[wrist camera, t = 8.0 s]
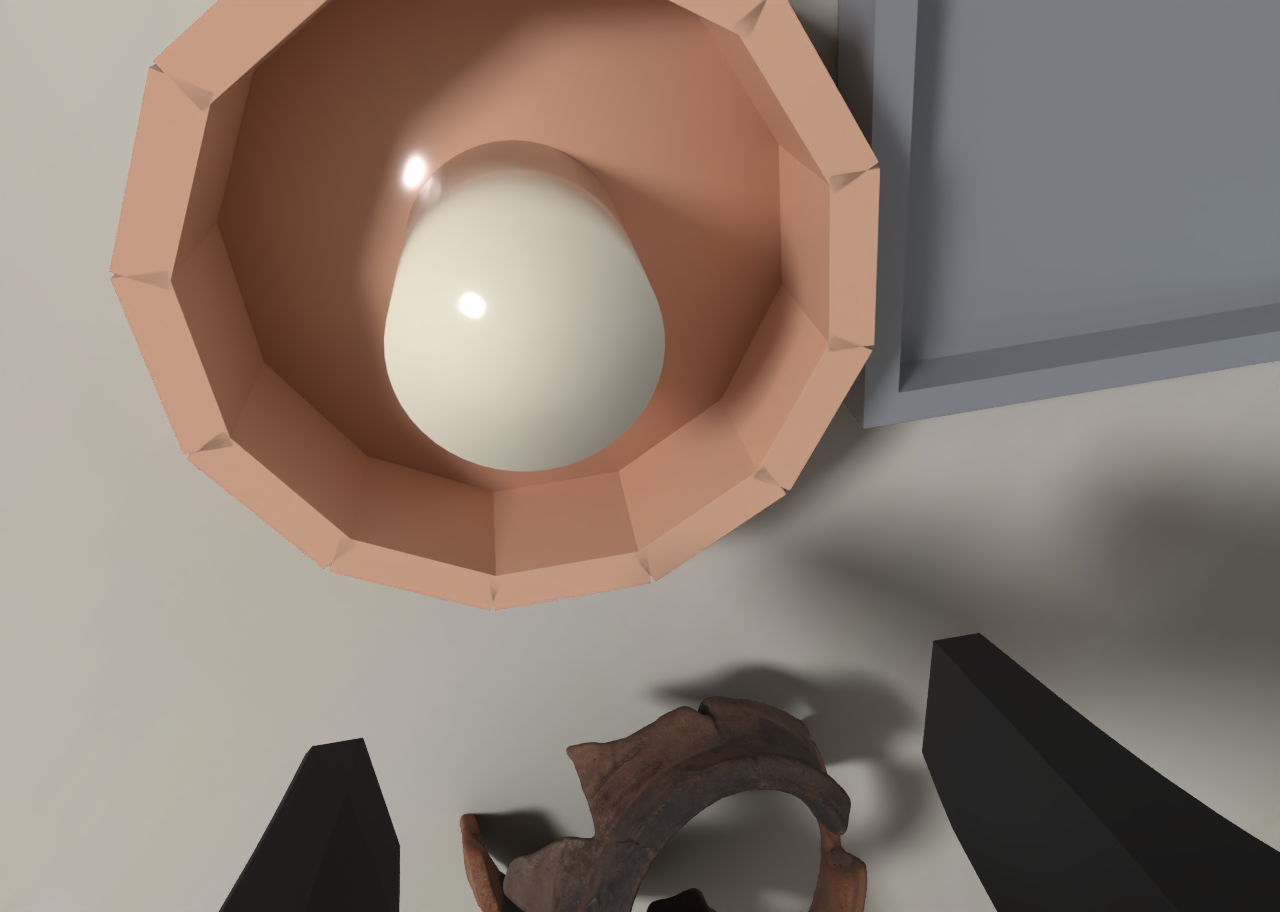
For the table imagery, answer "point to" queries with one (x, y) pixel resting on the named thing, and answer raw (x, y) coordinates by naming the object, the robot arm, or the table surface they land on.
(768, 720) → the broken clay pot
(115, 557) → the table surface
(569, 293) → the cream rounded cylinder
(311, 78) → the terracotta bowl
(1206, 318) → the parts tray
